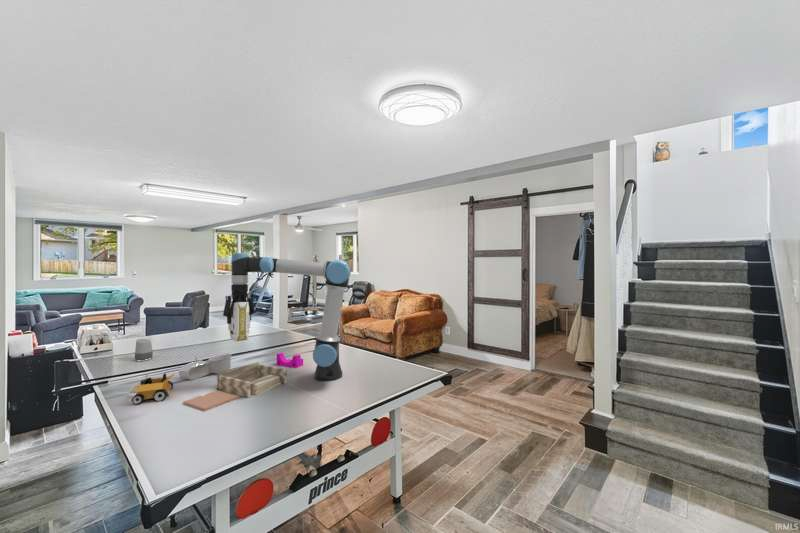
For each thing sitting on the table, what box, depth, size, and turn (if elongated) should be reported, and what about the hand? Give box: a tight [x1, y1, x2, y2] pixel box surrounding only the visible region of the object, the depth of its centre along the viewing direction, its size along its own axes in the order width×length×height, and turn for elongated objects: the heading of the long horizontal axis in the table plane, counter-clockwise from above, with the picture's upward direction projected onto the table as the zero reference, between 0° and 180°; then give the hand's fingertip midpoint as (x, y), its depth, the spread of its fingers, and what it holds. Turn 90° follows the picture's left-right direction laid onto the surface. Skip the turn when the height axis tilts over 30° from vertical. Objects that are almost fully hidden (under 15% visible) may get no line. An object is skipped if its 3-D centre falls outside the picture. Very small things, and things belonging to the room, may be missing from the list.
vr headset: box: [178, 356, 213, 381], centre depth 187 cm, size 14×9×11 cm, turn 150°
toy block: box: [276, 352, 304, 369], centre depth 211 cm, size 15×6×8 cm, turn 68°
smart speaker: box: [134, 338, 153, 361], centre depth 224 cm, size 10×9×14 cm
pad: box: [182, 389, 240, 412], centre depth 156 cm, size 16×16×1 cm
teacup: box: [207, 353, 232, 375], centre depth 194 cm, size 12×15×10 cm
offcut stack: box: [250, 375, 282, 396], centre depth 171 cm, size 7×16×5 cm, turn 155°
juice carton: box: [229, 301, 250, 342], centre depth 172 cm, size 8×9×19 cm
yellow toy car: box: [131, 373, 176, 405], centre depth 161 cm, size 15×15×11 cm
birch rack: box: [216, 361, 288, 399], centre depth 175 cm, size 23×23×8 cm
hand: (239, 328), depth 172 cm, fingers closed on juice carton, 9 cm apart
